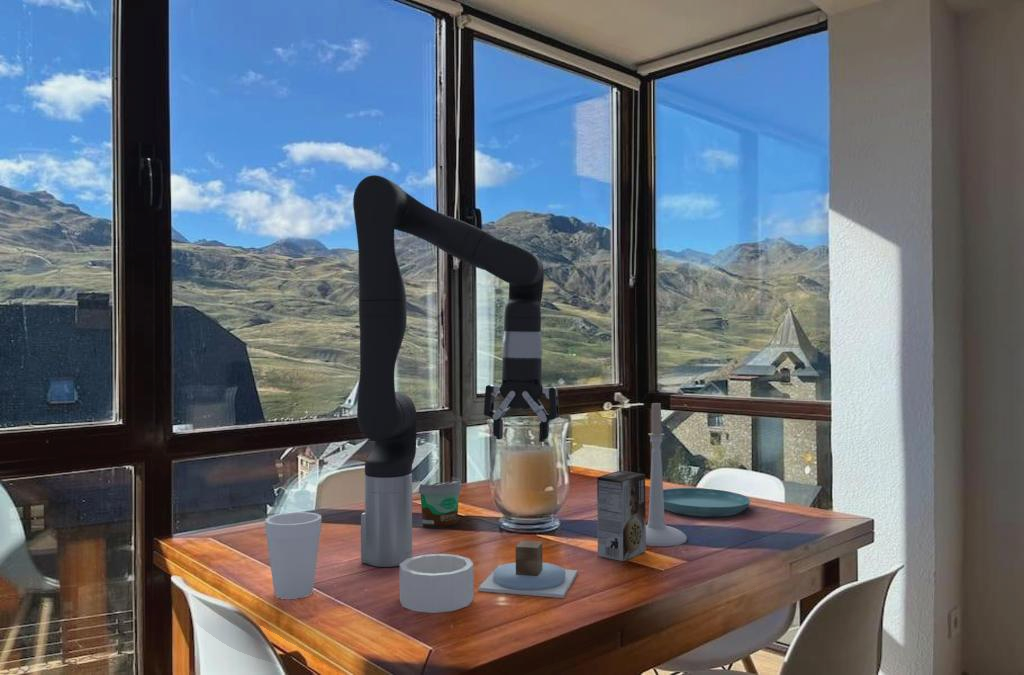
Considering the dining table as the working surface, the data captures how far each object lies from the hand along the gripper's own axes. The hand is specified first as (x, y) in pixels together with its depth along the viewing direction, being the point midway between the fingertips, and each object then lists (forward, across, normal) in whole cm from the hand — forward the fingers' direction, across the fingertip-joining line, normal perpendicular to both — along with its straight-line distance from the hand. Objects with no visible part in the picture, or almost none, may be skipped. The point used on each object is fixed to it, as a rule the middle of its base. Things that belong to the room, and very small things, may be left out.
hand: (520, 440), depth 148 cm
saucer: (+24, +32, +62) cm, 73 cm away
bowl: (+24, -8, -21) cm, 33 cm away
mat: (+24, +4, -8) cm, 26 cm away
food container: (+25, -26, +28) cm, 46 cm away
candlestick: (+24, +23, +28) cm, 44 cm away
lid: (+24, +4, -8) cm, 25 cm away
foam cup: (+25, -34, -25) cm, 49 cm away
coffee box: (+24, +18, +14) cm, 33 cm away
